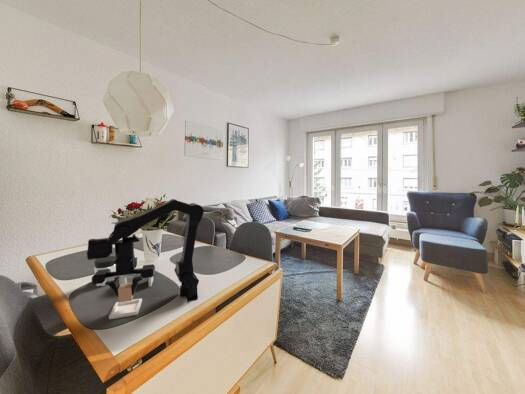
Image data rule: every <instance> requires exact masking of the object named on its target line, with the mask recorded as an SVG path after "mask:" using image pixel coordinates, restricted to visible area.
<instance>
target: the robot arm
mask: <svg viewBox="0 0 525 394" xmlns="http://www.w3.org/2000/svg"><path fill="white" fill-rule="evenodd" d="M174 211H177V212H179V213H183V214H185V221H186V227H185V235H184V240H183V244H182V245H183V246H182V253H181V258H180V259H179V261H177V260H176V261H175V268H174V269H173V270H174V274H175V275H176V277H177V279H178V281H179V283H180V284H181V285H180V286H179V297H180V298H186V301H194V300H198V298H199V296H198V285H199V282H200V280H199V278H198V277H197V275H196V274H195V272H194V265H193V264H194V263H193V256H194V252H195V251H194V250H195V244H196V239H197V233H198V231H197V230H198V227H199V225H200V223H201V222H202V218H203V215H204V213H205V212H204V208H203V207H202V206H201V205H199V204H198V203H195V202H192V203H186V202H183V201H180V200H178V199H174V198H172V199H170V200H168V201H166V202H164V203H162V204H159V205H157V206H156V207H153V208H151V209H149V210H147V211H145V212H142V213H140V214H137V215H133V216H128V217H125V218H121V219H119V220H117V221H116V223H115V224H114V227H113V231H112V232H111V233H110V234H109V236H108V237H104V238H90V239H89V240H88V241H87V243H88V245H87V252H86V255H87V256H86V257H87V261H92V260H94V261H95V260H96V259H100V258H107V257H109V256H111V255H113V254H114V257H115V265H116V272H111V270H110V269H104V270H98V271H97V272H96V273H95V272H94V274H93V275H92V277H91V284H92V285H96V284H100V283H103V282H104V281H105V279H106V283H105V286H109V288H111V290H113V292H114V293H115V295H116V296H117V297H118V288H119V287H120V277H122V276H130V275H134V277H132V281H131V282H132V296H133V295H134V296H135V293H136V290H137V286H138V283H139V282H140V281H143V279H149V277H153V278H154V275H155V271H156V265H154V264H144V265H143V266H142V267H141V268H142V269H138V268H137V265H138V257H135V247H134V246H135V243H139V242H140V237H138V236H137V235H136V234H135V233H136V232H138V231H139V230H140V229H142V227H143V226H145V225H147V224H149V223H151V222H153V221H155V220H158V219H159V218H162V217H163V216H166V215H168V214H171V212H174ZM134 296H133V297H134Z"/></svg>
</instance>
